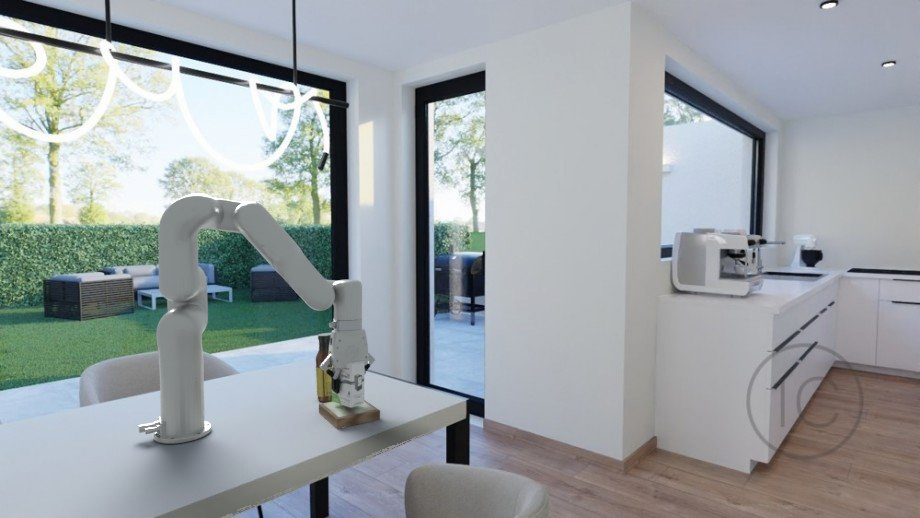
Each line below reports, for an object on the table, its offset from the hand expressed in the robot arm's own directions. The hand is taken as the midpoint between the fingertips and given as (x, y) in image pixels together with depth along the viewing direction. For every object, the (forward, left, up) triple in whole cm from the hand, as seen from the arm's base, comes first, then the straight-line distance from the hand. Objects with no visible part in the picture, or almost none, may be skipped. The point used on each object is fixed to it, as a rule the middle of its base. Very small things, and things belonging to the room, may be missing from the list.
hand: (348, 389), depth 138 cm
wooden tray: (0, 0, -7) cm, 7 cm away
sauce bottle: (0, +17, -8) cm, 19 cm away
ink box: (0, 0, -4) cm, 4 cm away
